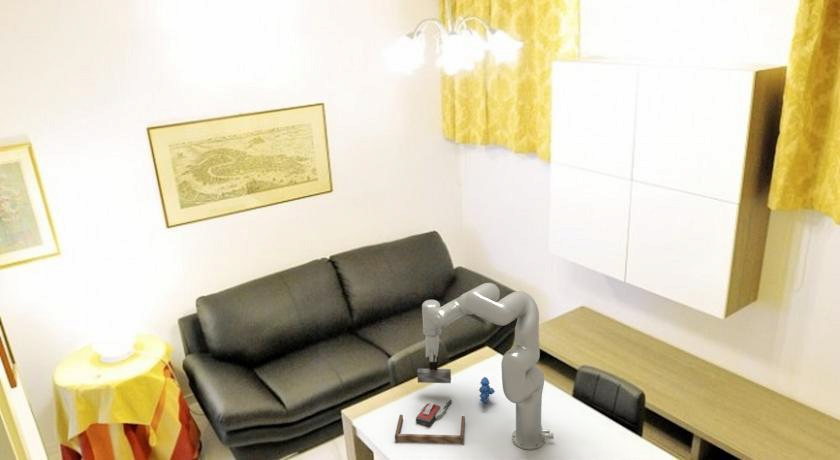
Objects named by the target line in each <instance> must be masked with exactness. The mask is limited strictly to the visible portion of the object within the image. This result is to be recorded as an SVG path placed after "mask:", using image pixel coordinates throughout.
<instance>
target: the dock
mask: <svg viewBox="0 0 840 460" xmlns="http://www.w3.org/2000/svg"><path fill="white" fill-rule="evenodd" d="M403 422H404V415H403V414H399V417H398V421H397V425H396V428H395V429H396V430H395V433H394V442H395V443H411V444H412V443H415V444H447V445H450V444H451V445H453V444H454V445H464V442H465V441H464V438H465V427H466V418H465V415H461V421H460V430H459V435H456V434H453V435H452V434H420V433H401V432H402V429H403V428H402V427H403Z"/></svg>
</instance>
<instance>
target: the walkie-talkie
mask: <svg viewBox="0 0 840 460" xmlns="http://www.w3.org/2000/svg"><path fill="white" fill-rule="evenodd" d="M451 402H452V399H448V401H446V404H445V405H444V406H443V407H442V408H441V406H440V405H437V404H434V403H432V402H429V403H426V404H425V405H424V406H423V408H422V409H421V411H420V412H419V413H418V415H417V416H416V417H415V423H416V425H419V426H423V427H426V428H430V427H431V426H432V425H433V423H434V422H435V421H438V420H441V419H442V418H443V417H444V416H445V414H446V411H447V408H448V407H449V406H450V404H451Z"/></svg>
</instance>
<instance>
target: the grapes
mask: <svg viewBox="0 0 840 460" xmlns="http://www.w3.org/2000/svg"><path fill="white" fill-rule="evenodd" d="M479 383H480V384H481V386H480V387H479V389H478V391H479V392H480V394H479V397H480V399H479V401H480V403H481V404H483V405H485V404H487V403H489V401H490V400H489V399H488V398H489V397H490V395H493V394H495V392H496V391H495V389H494V388H493V387H491V386H490V379H489V378H488V377H486V376H483V378H481V379H480V382H479Z"/></svg>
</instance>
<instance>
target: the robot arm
mask: <svg viewBox="0 0 840 460" xmlns="http://www.w3.org/2000/svg"><path fill="white" fill-rule="evenodd" d="M500 292H501V291H500V289H499V287H498V286H497V285H496V284H495V283H493V282H486V283H482V284H480V285H478V286H476V287H474V288H472V289H470V290H468V291H467V292H464V293H463V294H461V295H460V296H459V297H457V298H455V299H453V300H451V301H449V302H447V303H445V304H444V305H443V306H441V304H440V302H439V301H438V300H435V299H427V300H425V301H423V303H422V304H421V309H422V310H421V312H422V314H421V315H422V334H423V335H425V339H424V340H425V341H424V342H425V346H424V347H425V358H428V359H429V362H428V363H429V365H428V366H429V369H430V370H437V369H438V366H439V357H438V356H439V355H438V353H439V349H440V348H439V347H440V345H439V344H440V335H441V334H442V328H445V327H447V326H449V325H450V324H452V323H453V322H455V321H456V320H458V319H460V318H462V317H463V316H466V315H469V316H470V315H475V316H477V317H480V318H481V319H484V320H486V321H488V322H490V323H493V324H494V325H496V326H507V325H508V324H511V322H513V321H515V320H516V319H517V321H516V324H515V328H514V329H515V330H514V337H515V338H514V339H515V341H514V345H513V346H512V347H511V348H509V349H508V350H507V351H506V352H505V353H504V355H503V356H502V359H501V380H502V382H501V383H502V391H503V394H504V396H505V397H506V399H507V400H508V401H509V402H510V403H512V404H515V430H514V431H513V432H512V434H511V441H512V443H513V444H514V445H515V446H516V447H518V448H520V449H523V450H527V451H533V450H538V449H540V448H542V447H543V446H544V445H545V443H546V439H552V440H553V439H554V437H555V436H554V435H555V434H554V432H553V433H552V432H551V430H550V429H543V426H542V406H543V405H542V403H543V402H542V399H543V392H544V385H545V375H544V372H543V371H542V369H541V368H540V366H538V365H536V364H537V363H538V362H539V359H540V353H541V351H540V350H541V349H540V332H539V331H540V330H539V329H540V328H539V327H540V314H539V313H540V311H539V307H538V304H537V303H536V301H535V299H534V298H533V297H532V296H531V295H530V294H529V293H527V292H526V291H523V290H517V291H513V292H511V293H509V294H507V295H505V296H504V297H503V298H501V299H500ZM434 357H435V359H434ZM436 358H437V361H436Z"/></svg>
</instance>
